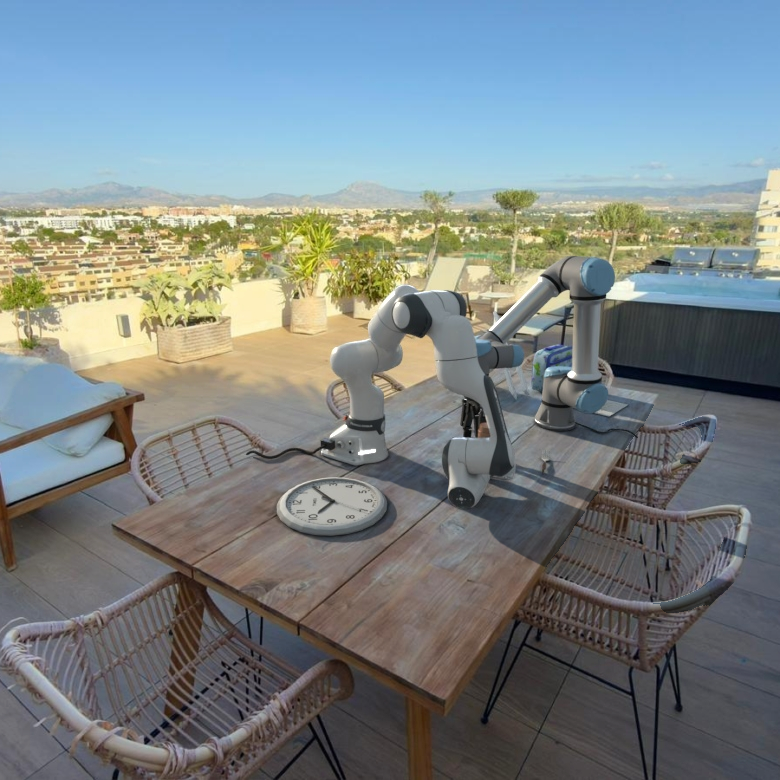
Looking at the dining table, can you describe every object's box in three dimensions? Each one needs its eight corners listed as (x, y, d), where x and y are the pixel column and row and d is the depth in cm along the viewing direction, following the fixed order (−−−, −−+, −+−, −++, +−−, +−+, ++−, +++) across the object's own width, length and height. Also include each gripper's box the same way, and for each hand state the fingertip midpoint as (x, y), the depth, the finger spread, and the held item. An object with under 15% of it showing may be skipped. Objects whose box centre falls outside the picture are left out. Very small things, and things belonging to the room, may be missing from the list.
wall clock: (392, 527, 129) (268, 531, 127) (391, 533, 130) (269, 537, 127) (383, 473, 158) (282, 475, 155) (383, 478, 158) (282, 480, 156)
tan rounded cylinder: (489, 481, 158) (493, 429, 153) (472, 477, 160) (476, 426, 155) (493, 474, 162) (497, 423, 157) (477, 471, 164) (481, 421, 159)
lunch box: (547, 397, 237) (552, 352, 231) (526, 391, 245) (531, 348, 238) (574, 386, 255) (580, 344, 249) (554, 381, 262) (559, 340, 256)
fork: (538, 474, 162) (538, 468, 162) (542, 454, 177) (542, 449, 176) (546, 475, 162) (547, 470, 161) (550, 455, 176) (550, 450, 175)
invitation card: (608, 416, 214) (573, 407, 224) (608, 416, 214) (573, 408, 224) (628, 404, 229) (594, 396, 238) (628, 405, 229) (594, 397, 238)
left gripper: (513, 469, 143) (520, 450, 155) (441, 457, 150) (454, 439, 163) (511, 490, 145) (518, 470, 157) (440, 476, 152) (452, 458, 164)
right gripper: (452, 380, 179) (448, 442, 185) (480, 396, 161) (474, 464, 168) (472, 378, 181) (467, 440, 188) (501, 394, 164) (495, 462, 171)
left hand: (485, 454), depth 160 cm, fingers closed on tan rounded cylinder, 5 cm apart
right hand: (471, 451), depth 178 cm, fingers closed on lid, 6 cm apart
